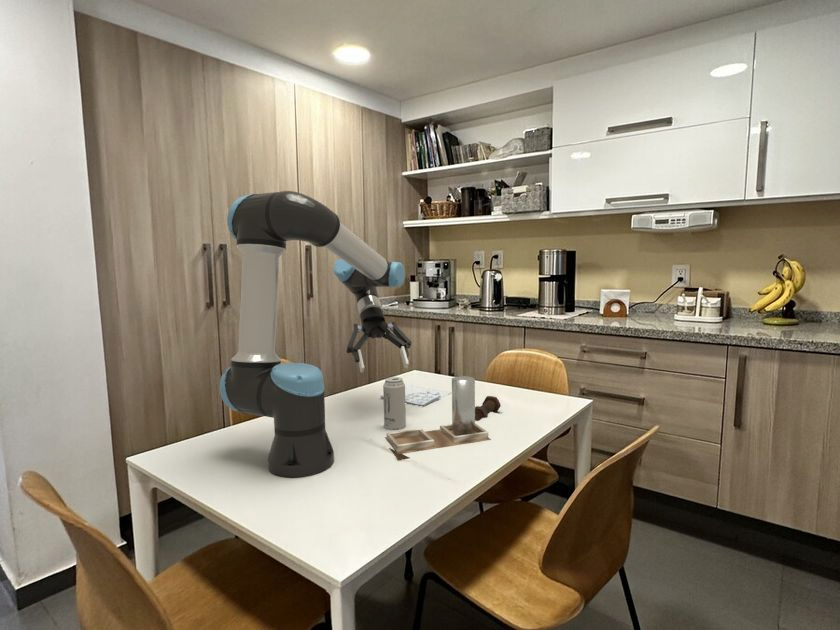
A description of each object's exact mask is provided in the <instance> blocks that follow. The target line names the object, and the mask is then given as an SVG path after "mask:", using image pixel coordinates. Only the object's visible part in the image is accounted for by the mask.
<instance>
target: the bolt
mask: <svg viewBox="0 0 840 630" xmlns="http://www.w3.org/2000/svg"><path fill="white" fill-rule="evenodd" d="M501 407H502V405H501V402H500V400H499V399H498V397H497V396H493V395H487V396H486V397H485V398H484V400H483V402H482V403H481V405H480V406H479V405H478V406H477V405H475V422H477V421H478V422H480V420H482V419H486V418H488V415H489V413H493V414H496V413H498V411H499V410H500V408H501Z"/></svg>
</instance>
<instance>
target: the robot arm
mask: <svg viewBox="0 0 840 630" xmlns="http://www.w3.org/2000/svg"><path fill="white" fill-rule="evenodd" d="M226 216H227V217H226V218H227V219H226V224H227V227H228V231H229V232H230V235H231V237H233V239H234V240H235V241H236V248H237V249H238V250H239V252H240V253H241V254H242V259H241V260H242V261H241V263H242V264H241V282H240V284H241V286H240V287H241V288H240V305H239V306H240V307H239V309H240V310H239V325H238V326H239V329H238V351H237V353H236V354H235V355H234V356H233V357H232V358H231V359H230V360H231V361H230V366H228V367H227V368H226V369H225V371H224V373H223V374H222V375H221V376H220V380H219V394H220V397H221V400H222V401H223V403H224V404H225V406H227V408H229V409H230V410H232V411H235V412H239V413H241V414H245V415H252V416H259V417H260V416H261V417H266V418H272V419H273V429H274V430H273V431H274V432H273V433H274V436H273V439H272V443H271V447H270V450H269V454H268V458H267V466H268V471H270V473H271V474H274V475H275V476H280V477H285V478H292V477H293V478H298V477H300V478H301V477H307V476H312V475H315V474H318V473H321V472H324V471H325V470H327V469H328V468H330V467H332V466H333V464H334V462H335V453H334V452H335V451H334V449H333V445H332V443H331V440H330V438H329V435H328V433H327V430H326V409H325V408H326V405H325V404H326V403H325V401H326V400H325V389H326V387H325V384H324V383H325V382H324V376H323V372H322V370H321V369H320V368H319V367H317V366H315V365H313V364H309V363H305V362H304V363H303V362H282V359H281V358H280V357H279V356H278V355H277V353H276V334H277V318H278V317H277V315H278V314H277V313H278V290H279V288H278V287H279V271H280V270H279V269H280V267H279V266H280V258H281V256H282V255H283V254H285V253H286V249H287V242H289V241H290V242H291V241H301V242H306V243H309V244H311V245H313V246H314V247H316V248H324V249H326V250H327V251H329V252H330V253H332V254H333V255H334V256H336V257H337V258H339V259H338V260H336V262H335V264H334V266H333V274H334V275H335V277H337V279H338V281H339V282H341V283H342V284H343V285H344V286H345V287H346V288H347V289H348V290H349V291H350V292H351V294H352V295H353V296H354V297H355V301H356V306H357V309H358V313H359V317H360V321H361V325H358V324H357V323H353V326H352V334H351V336H350V339H349V341H348V344H347V347H346V351H345V352H346V353H347V354H352V356H353V359H354V362H355V363H358V368H359V371H360V374H361V373H362V374H363V373H364V372H365V364H364V360H363V355H362V350H361V349H362V347H363V345H364V344H366V341H368V340H369V338H371V339H377V338H378V339H381V338H383V339H385V340H388V341H389V342H390V343H392V344H393V345H394V346H395V347H398V348H399V349H400V350H399V354H400V357H401V360H402V365H403V367H404V369H406V370H407V369H408V368H409V364H410V363H409V362H410V361H409V359H408V358H409V356H410V352H409V349H410V348H411V346H412V340H410V338H409V337H408V336H407V335H406V333H404V332H403V331H402V330H401V329H400V327H398V325H397V322H396V321H392V322H391V323H388V322H386V318H385V315H384V311H383V307H382V304H381V300H380V297H379V292H378V289H377V287H378V288H395V287H401V286H403V284H404V282H405V279H406V271H405V266H404V265H403V263H401V262H400V261H399V262H398V261H388V260H387V259H386V258H385V257H383V256H382V255H381V254H380V253H378V252H377V251H376V250H375V249H373V248H372V247H371V246H369V244H367V243H366V242H365V241H364V240H362V238H360V237H358V235H356V234H355V233H353V232H352V231H351V230H350V229H348V228H347V227H346V226H345V225H344V224H343V223H341V219H340V217H339V216H338V214H336V213H335V212H334V211H333V210H331V209H330V208H329V207H327V206H326V205H324V204H323V203H321V202H320V201H318V200H317V199H314V198H313V197H311V196H308V195H306V194H304V193H300V192H298V191H292V190H281V191H276V192H275V191H273V192H265V193H264V192H263V193H251V194H248V195H243V196H240V197H238V198H237V199H236V200H235V201H234V202H233V203H232V204H231V205H230V208H229V209H228V212H227V215H226ZM360 331H362V332H363V335H362V336H361V338H359V340H358V341H357V343H356V344H355V345H354V343H355V341H356V339H357V335H358V333H360Z"/></svg>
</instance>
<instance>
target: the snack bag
mask: <svg viewBox="0 0 840 630" xmlns="http://www.w3.org/2000/svg"><path fill="white" fill-rule="evenodd" d="M450 393H451V394H452V391H447V390H441V389H435V388H430V387H425V386H419V385H414V384H410V385H409V386H406V387H405V403H407V404H406V405H409V404H412V405H411V406H415V405H418V406H417V407H420V406H423V407H425V406H427V405H428V404H432V403H434V402H436V401H438V400H442V397H443V398H445V397H447V396H449V395H451V394H450ZM446 395H447V396H446ZM444 396H445V397H444ZM379 398H380V400H384V395H383V394H381V395H380V396H379ZM435 400H436V401H435ZM433 401H434V402H433Z"/></svg>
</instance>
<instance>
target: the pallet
mask: <svg viewBox="0 0 840 630" xmlns="http://www.w3.org/2000/svg"><path fill="white" fill-rule="evenodd" d="M385 434H386V437H384V439H385V440H386V441H387V442H388V443H389V445H390V447H392V448H390V447H389V448H388V449H389V450H390V452H391V453H392V454H393V455H394V457H395V458H396V459H397V461H402V459H403V460H409V459H410V456H407V455H405V454H409V453H415V452H416V453H417V452H420V451H421V452H422V451H427V450H428V451H429V450H433V449H441V448H442V449H443V448H447V447H454V446H460V445H467V444H474V443H480V442H485V441H491V440H492V439H491V438H490V437H489V431H487V430H486V429H484V428H483V427H481V426H480V425H478V424H477V423H475V433H473V434H467V435H460V436H455V435H454V434H453V433H452V423H449V424H443V425H439V429H434V430H426V431H424V429H423V428H415V429H408V430H398V431H392V432H387V433H385Z"/></svg>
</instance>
